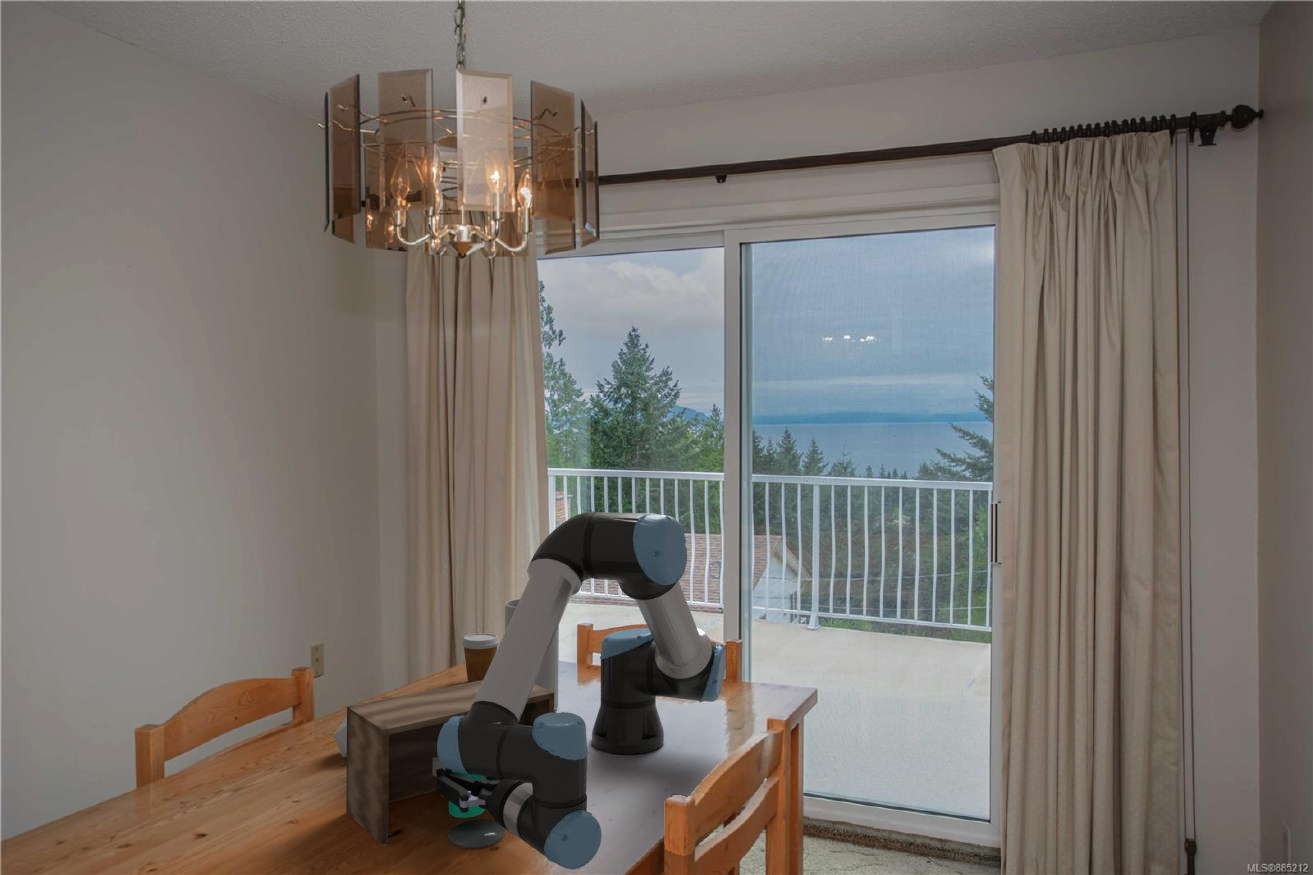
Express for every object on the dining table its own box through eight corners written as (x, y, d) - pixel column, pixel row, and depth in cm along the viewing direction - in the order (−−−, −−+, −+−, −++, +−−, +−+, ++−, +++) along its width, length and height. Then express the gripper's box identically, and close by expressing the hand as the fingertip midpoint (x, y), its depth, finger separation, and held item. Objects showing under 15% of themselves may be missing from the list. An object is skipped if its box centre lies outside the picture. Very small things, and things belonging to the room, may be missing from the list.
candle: (451, 802, 146) (452, 730, 146) (487, 801, 146) (488, 730, 146) (445, 818, 140) (446, 743, 140) (483, 817, 140) (483, 742, 140)
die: (353, 769, 168) (384, 725, 171) (318, 744, 170) (349, 701, 173) (365, 769, 176) (395, 727, 179) (332, 745, 178) (362, 704, 181)
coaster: (511, 824, 144) (511, 820, 144) (496, 849, 135) (496, 846, 135) (458, 821, 145) (458, 818, 145) (440, 847, 136) (440, 843, 136)
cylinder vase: (568, 707, 206) (569, 601, 206) (534, 721, 196) (535, 610, 195) (528, 698, 213) (529, 596, 213) (493, 712, 202) (493, 604, 202)
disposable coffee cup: (455, 687, 222) (456, 640, 222) (469, 677, 231) (470, 632, 231) (491, 689, 220) (491, 642, 220) (504, 679, 229) (504, 633, 229)
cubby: (346, 812, 148) (346, 706, 148) (510, 767, 169) (511, 674, 169) (381, 844, 136) (382, 729, 136) (553, 792, 157) (554, 692, 157)
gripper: (466, 850, 123) (399, 797, 141) (574, 815, 135) (499, 770, 153) (467, 797, 123) (399, 751, 141) (575, 767, 135) (499, 728, 153)
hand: (451, 761), depth 147 cm, fingers closed on candle, 5 cm apart
